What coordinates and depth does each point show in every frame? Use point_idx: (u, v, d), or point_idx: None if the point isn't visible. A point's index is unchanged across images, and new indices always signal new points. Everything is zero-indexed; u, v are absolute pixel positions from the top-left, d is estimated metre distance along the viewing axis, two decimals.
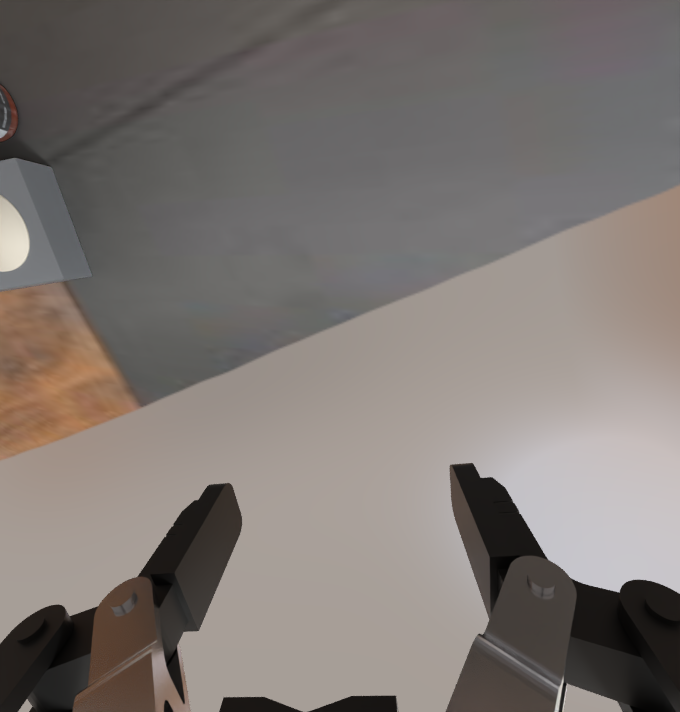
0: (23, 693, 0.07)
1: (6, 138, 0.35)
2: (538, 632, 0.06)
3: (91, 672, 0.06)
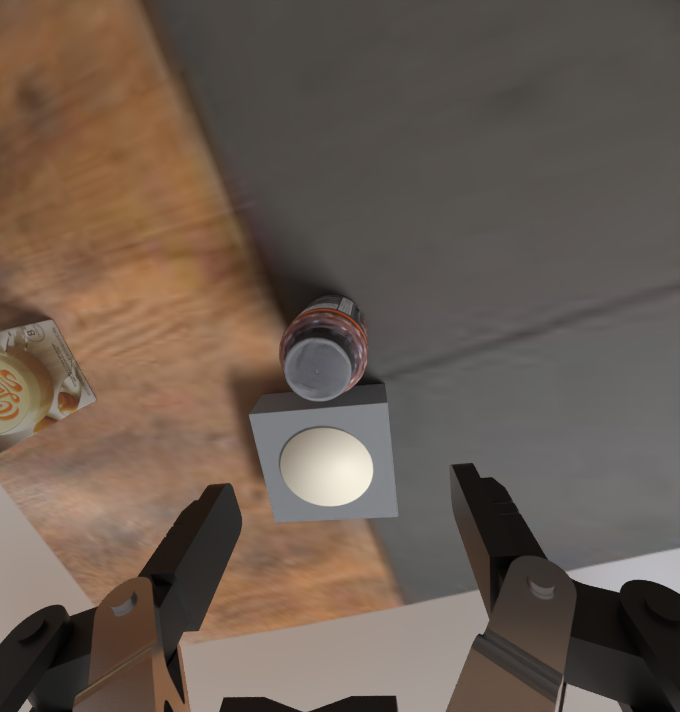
0: (23, 693, 0.07)
1: None
2: (538, 632, 0.06)
3: (91, 672, 0.06)
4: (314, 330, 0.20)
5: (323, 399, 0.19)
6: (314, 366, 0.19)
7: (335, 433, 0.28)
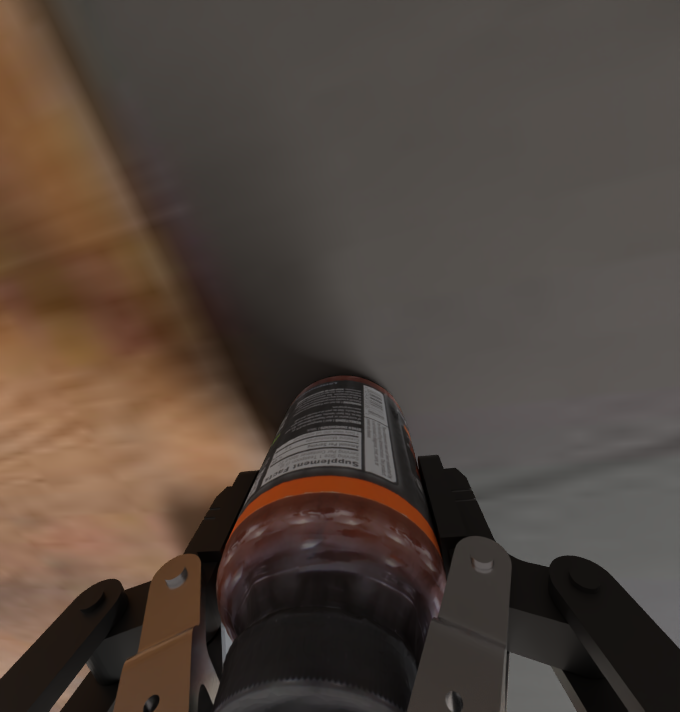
0: (78, 663, 0.07)
1: None
2: (483, 604, 0.07)
3: (142, 639, 0.07)
4: (304, 586, 0.06)
5: None
6: None
7: None
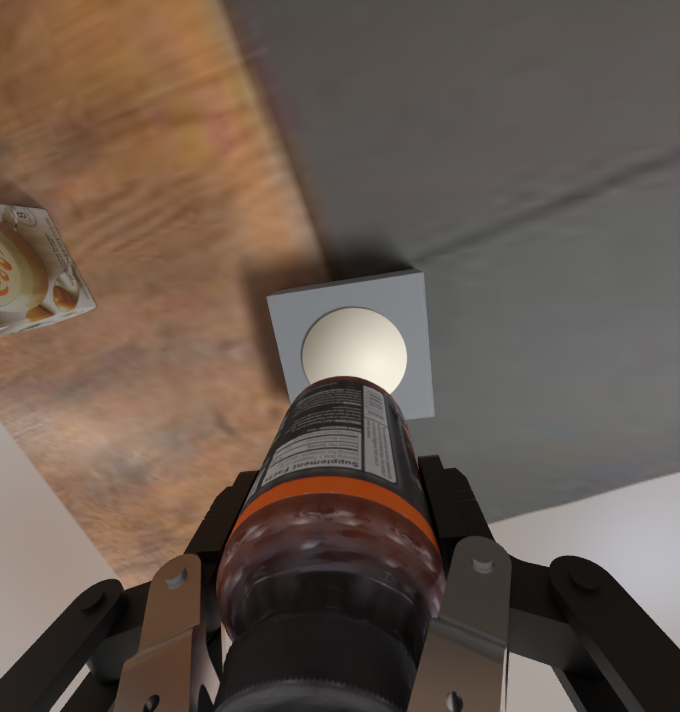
0: (79, 662, 0.07)
1: None
2: (483, 604, 0.07)
3: (142, 639, 0.07)
4: (305, 586, 0.06)
5: None
6: None
7: (364, 314, 0.25)
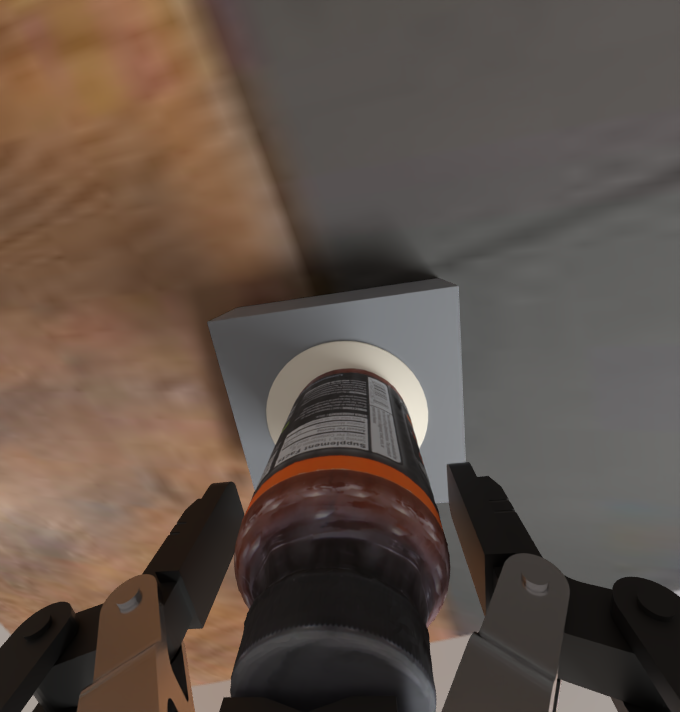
0: (29, 689, 0.07)
1: None
2: (532, 628, 0.06)
3: (96, 669, 0.06)
4: (318, 551, 0.07)
5: None
6: (323, 699, 0.06)
7: (362, 350, 0.16)
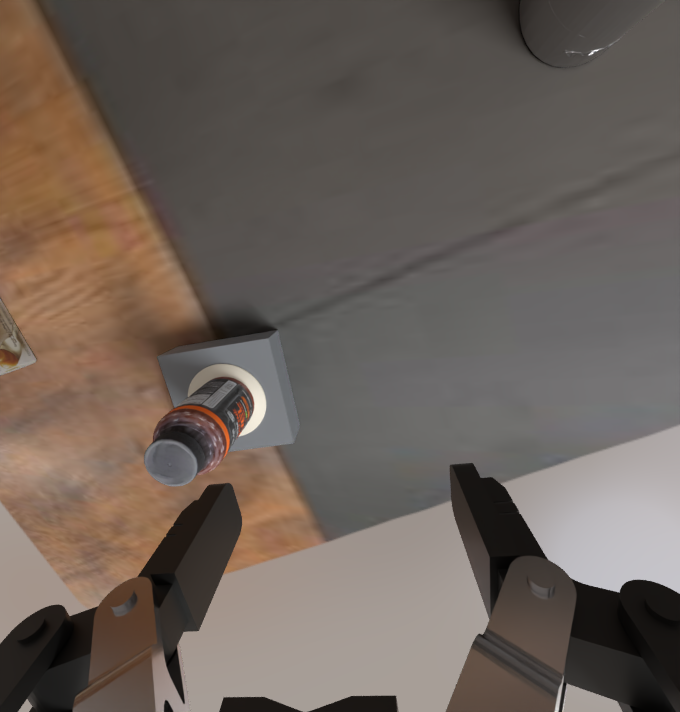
0: (23, 693, 0.07)
1: None
2: (538, 632, 0.06)
3: (91, 672, 0.06)
4: (172, 429, 0.25)
5: (178, 485, 0.24)
6: (167, 461, 0.24)
7: (229, 368, 0.33)
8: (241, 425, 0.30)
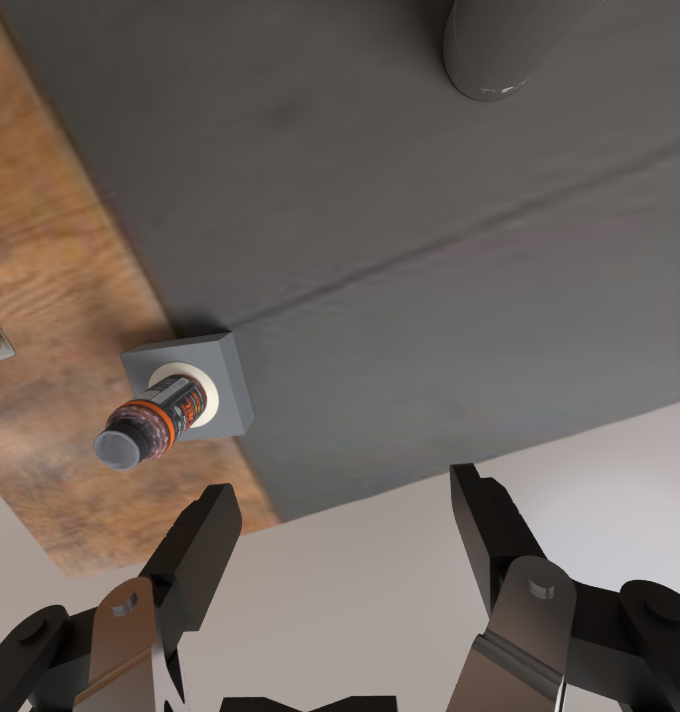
0: (23, 693, 0.07)
1: None
2: (538, 632, 0.06)
3: (91, 672, 0.06)
4: (120, 421, 0.28)
5: (124, 469, 0.28)
6: (113, 449, 0.27)
7: (184, 366, 0.37)
8: (189, 418, 0.34)
